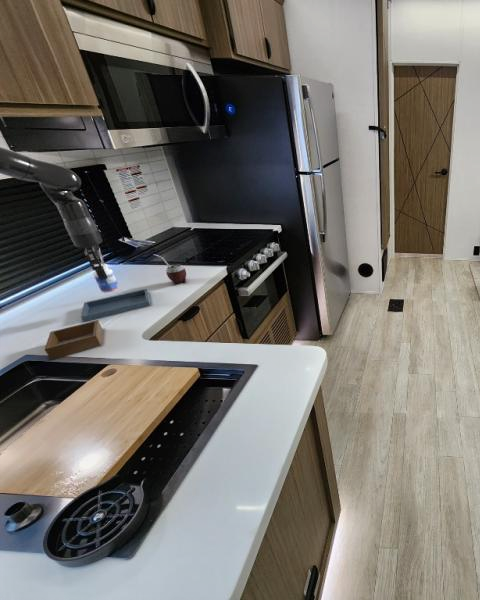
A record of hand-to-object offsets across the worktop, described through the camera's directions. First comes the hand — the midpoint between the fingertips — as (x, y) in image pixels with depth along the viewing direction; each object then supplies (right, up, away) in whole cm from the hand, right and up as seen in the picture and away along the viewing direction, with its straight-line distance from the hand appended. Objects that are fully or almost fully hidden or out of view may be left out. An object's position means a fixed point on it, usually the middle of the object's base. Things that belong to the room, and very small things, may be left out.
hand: (104, 276), depth 120 cm
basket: (+6, -23, -15) cm, 28 cm away
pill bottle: (0, -5, +3) cm, 6 cm away
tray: (0, -12, +6) cm, 13 cm away
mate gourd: (+10, -2, +25) cm, 27 cm away
